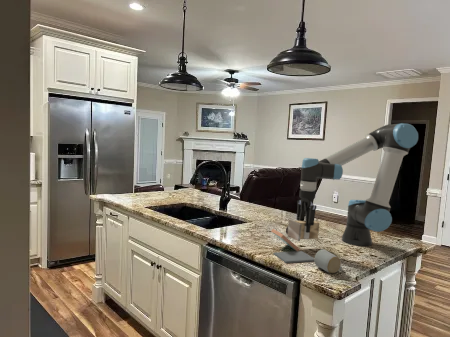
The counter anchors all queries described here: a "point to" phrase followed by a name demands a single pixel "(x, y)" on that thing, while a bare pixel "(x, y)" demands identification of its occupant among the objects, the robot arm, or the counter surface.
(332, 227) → the counter surface
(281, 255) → the slate mat
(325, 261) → the ceramic mug
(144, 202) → the counter surface
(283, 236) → the terracotta tile
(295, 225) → the tan rectangular block
